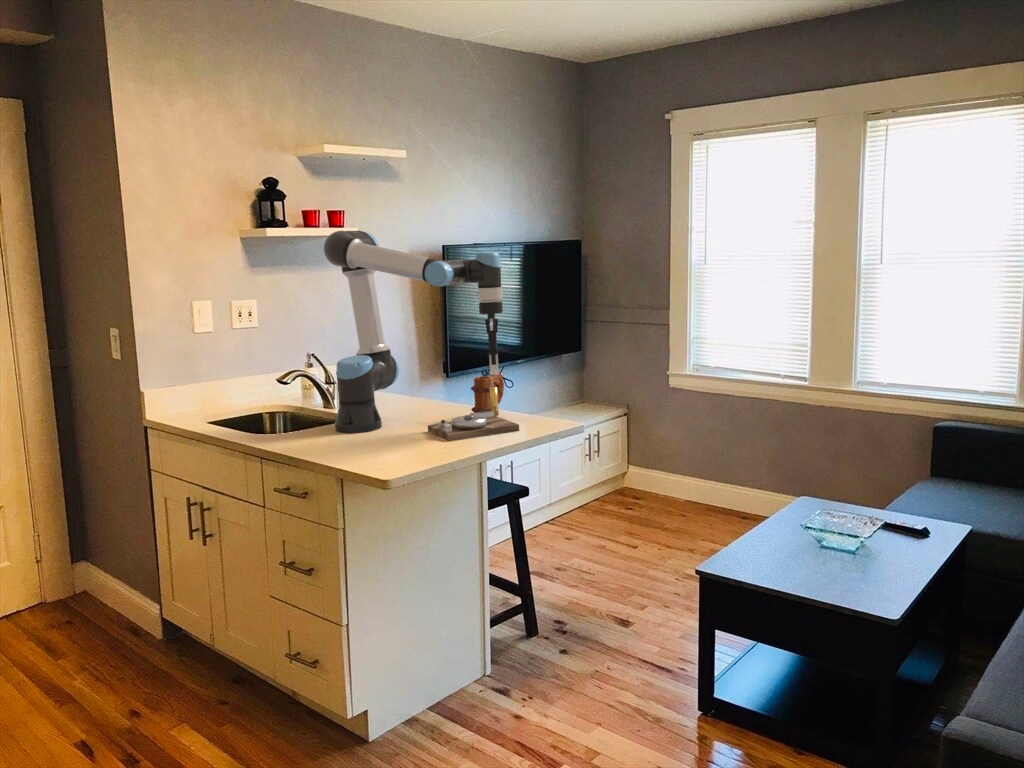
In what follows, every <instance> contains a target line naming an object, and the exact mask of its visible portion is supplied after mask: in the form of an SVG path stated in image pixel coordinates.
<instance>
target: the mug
mask: <svg viewBox="0 0 1024 768" xmlns="http://www.w3.org/2000/svg"><path fill="white" fill-rule="evenodd" d="M490 387H497V394H498V405H499V404H500V403H501V401H502V398H503V395H504V391H505V390H504V389H505V388H504V387H505V383H504V378H503V376H502V375H501V373H500V372H499V374H497V375H489V376H488V375H487V376H485V375H483V376H476V377H474V379H473V386H471V387H470V389H471V391H473V394H474V406H473V407H472V408H471V412H472V413H475V412H482V411H489V410H491V407H490ZM498 410H499V407H498Z"/></svg>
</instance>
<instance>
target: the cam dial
mask: <svg viewBox="0 0 1024 768" xmlns="http://www.w3.org/2000/svg"><path fill="white" fill-rule="evenodd" d="M490 407H491V410H489V411H482V412H475V413H474V412H470V413H469V414H466V415H465V414H464V415H460V416H456V417H453V418H452V419H451V421H450V422H451V423H452V427H453V428H457V429H475V428H481V427H484V426H486V425H487V420H486V417H492V416H497V417H500V416H499V415H500V413H499V412H500V411H499V409H498V408H499V404H498V394H497V387H490Z"/></svg>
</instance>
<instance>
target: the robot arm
mask: <svg viewBox="0 0 1024 768" xmlns="http://www.w3.org/2000/svg"><path fill="white" fill-rule="evenodd" d="M323 253H324V256H325V257H326V258H325V259H327V261H328V262H329V263H330V264H332V265H334V266H336V267H341V272H342V274H343V275H344V276H345V277H346V278H347V281H348V286H349V292H350V298H351V304H352V310H353V316H354V322H355V329H356V335H357V340H358V346H359V347H358V350H357V351H356V353H355V355H352V356H346V357H344V358H341V359H339V360H338V361H337V363H336V371H335V375H336V381H337V382H336V383H337V397H338V411H337V413H336V417H335V422H334V427H335V428H334V429H335V431H336V432H337V433H338V432H339V433H344V434H345V433H348V434H352V433H353V434H355V433H364V432H365V433H366V432H372V431H375V430H378V429H380V428H382V426H383V425H382V423H383V422H382V419H381V416H380V414H379V411H378V408H377V406H376V402H375V401H376V400H375V392H376V391H380V390H385V389H387V388H388V387H390V386H392V385H394V384H395V382H396V381H397V379H398V377H399V374H400V365H399V363H398V360H397V359H396V358H395V357H394V355H392V353H391V348H390V347H389V346H388V345H387V344H385V343H386V342H385V337H384V331H383V325H382V321H381V320H382V319H381V314H380V307H379V300H378V297H377V296H378V295H377V289H376V288H377V287H376V282H375V276H374V274H375V272H381V273H386V274H389V275H395V276H399V277H403V278H408V279H413V280H418V281H421V282H425V283H428V284H430V285H431V286H434V287H441V288H442V287H445V286H451V285H452V286H453V285H458V284H459V285H460V284H477V288H478V290H477V291H476V292H475V293H476V295H478V301H479V303H478V312H479V314H480V315H487V318H485V320H484V321H485V323H484V324H485V326H486V334H487V338H488V352H487V353H486V355H487V356H488V358H489V361H488V362H489V376H491V375H497V374H499V373H500V372H499V355H498V354H500V350H498V342H497V341H498V339H497V333H498V331H499V329H498V324H499V320H498V318H496V314H502V313H503V312H504V309H503V308H504V307H503V306H504V305H503V302H502V301H501V300H502V299H503V289H502V288H503V286H502V273H501V272H502V269H501V268H502V265H501V260H500V259H501V257H500V253H498V252H496V251H492V252H491V251H489V252H477V253H476V255H475V258H473V259H451V260H449V259H448V260H441V259H437V258H431V257H427V256H422V255H418V254H413V253H409V252H404V251H400V250H396V249H390V248H386V247H382V246H380V245H379V242H378V240H377V238H376V237H375V236H374V235H372V234H371V233H369V232H366V231H362V230H337V231H335V232H332V233H331V234H329V235H328V236H327V237H326V239H325V241H324V244H323Z"/></svg>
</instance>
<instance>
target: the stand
mask: <svg viewBox="0 0 1024 768" xmlns="http://www.w3.org/2000/svg"><path fill="white" fill-rule="evenodd" d="M486 420H487V425H486V426H484V427H481V428H475V429H457V428H453V427H452V423H451V421H449V422H446V420H445V419H442V420H441V421H438V422H437V423H434V424H433V423H432V424H427V432H428V433H430V432H431V434H433V435H435V436H438V437H440V438H442V439H444V440H446V441H447V442H453V441H459V440H460V441H461V440H466V439H472V438H480V437H486V436H492V435H499V434H505V433H506V434H507V433H513V432H514V433H515V432H519V431H520V424H519V423H516V422H514V421H510V420H507V419H506V418H502V417H500V416H492V417H486Z"/></svg>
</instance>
